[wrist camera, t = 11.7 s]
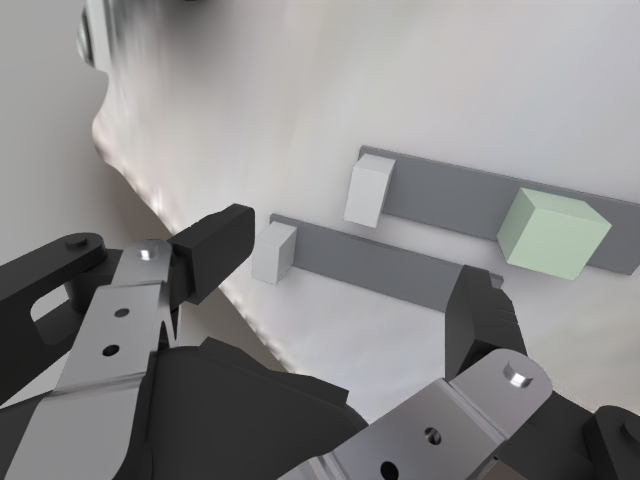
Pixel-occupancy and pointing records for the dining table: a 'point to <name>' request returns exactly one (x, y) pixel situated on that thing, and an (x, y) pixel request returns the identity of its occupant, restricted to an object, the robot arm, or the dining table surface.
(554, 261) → the block
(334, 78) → the dining table surface
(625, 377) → the dining table surface
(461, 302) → the robot arm
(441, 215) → the strip
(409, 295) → the strip
